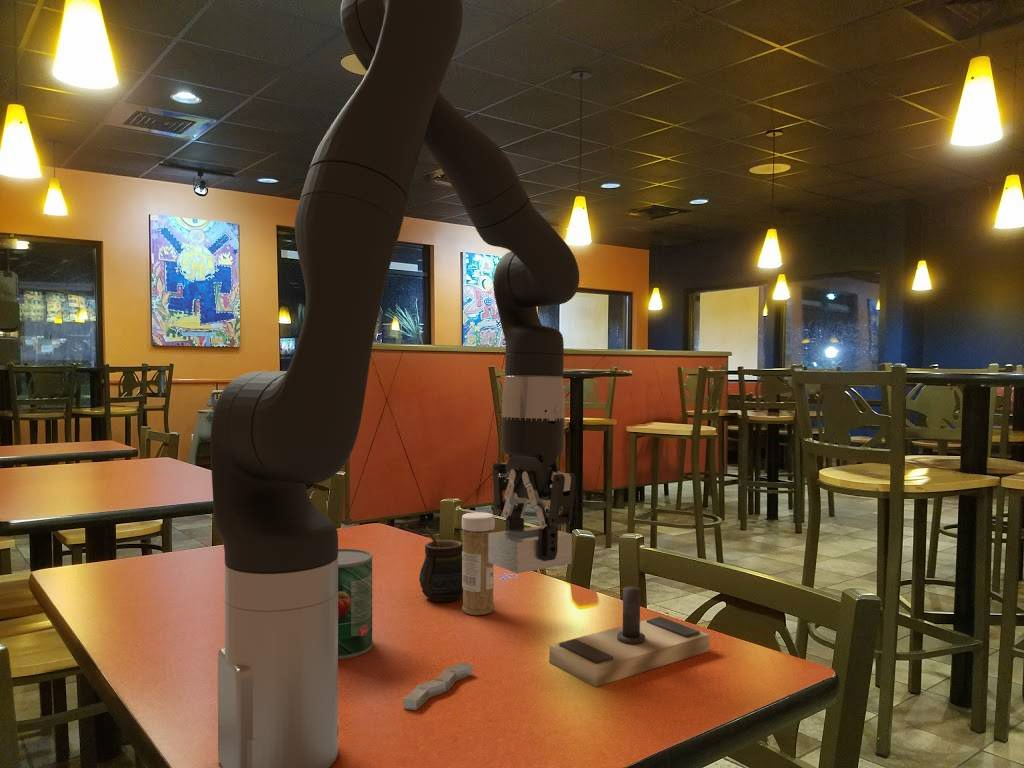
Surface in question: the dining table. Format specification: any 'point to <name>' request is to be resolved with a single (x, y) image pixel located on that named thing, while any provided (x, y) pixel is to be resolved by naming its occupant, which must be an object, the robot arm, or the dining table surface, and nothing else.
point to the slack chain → (436, 685)
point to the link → (525, 550)
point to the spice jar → (477, 563)
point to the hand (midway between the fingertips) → (530, 553)
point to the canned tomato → (354, 602)
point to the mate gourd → (442, 570)
